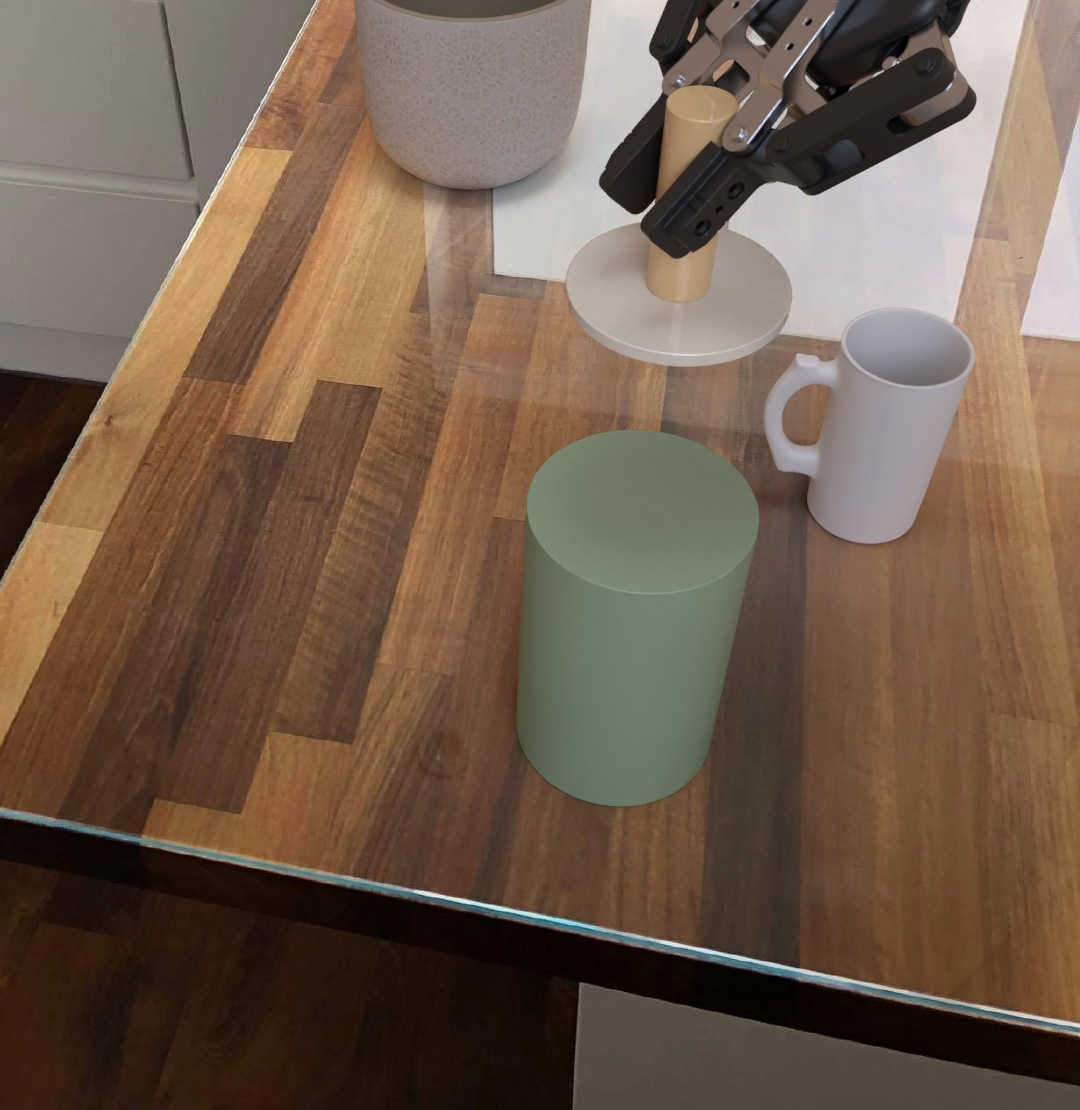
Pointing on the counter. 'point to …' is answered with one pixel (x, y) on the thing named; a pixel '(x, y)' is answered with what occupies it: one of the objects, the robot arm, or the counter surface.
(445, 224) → the counter surface
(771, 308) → the lid
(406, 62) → the planter
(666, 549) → the cylinder
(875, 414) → the mug
